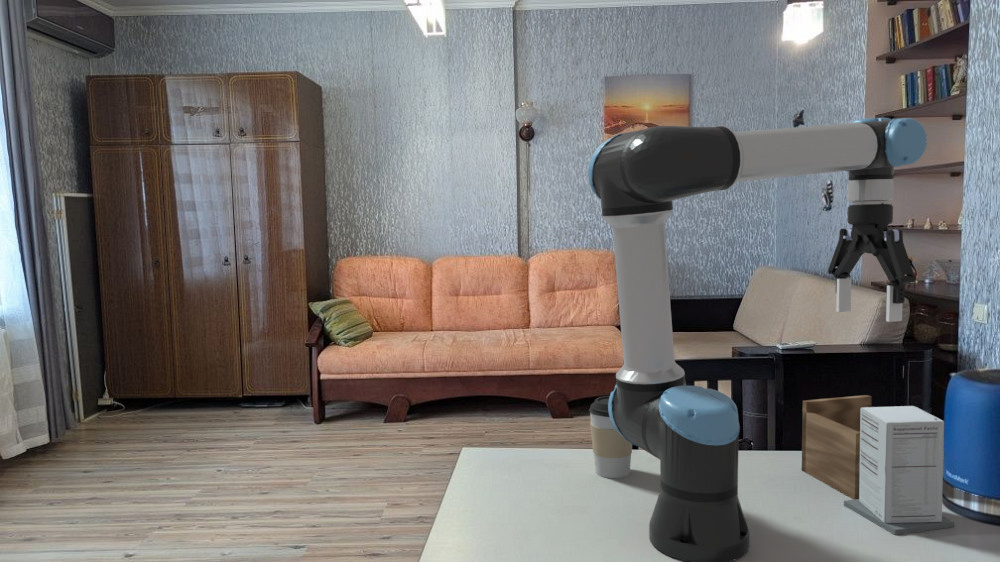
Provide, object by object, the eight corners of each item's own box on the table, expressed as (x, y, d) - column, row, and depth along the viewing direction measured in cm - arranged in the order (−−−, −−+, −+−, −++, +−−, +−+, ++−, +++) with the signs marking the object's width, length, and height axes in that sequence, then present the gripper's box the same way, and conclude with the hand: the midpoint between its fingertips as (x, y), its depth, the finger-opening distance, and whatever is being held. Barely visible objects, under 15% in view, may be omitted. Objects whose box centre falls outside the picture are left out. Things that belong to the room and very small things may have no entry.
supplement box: (912, 500, 126) (915, 404, 124) (943, 523, 117) (947, 420, 115) (856, 501, 126) (858, 405, 124) (883, 524, 117) (886, 421, 115)
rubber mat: (894, 534, 115) (895, 530, 115) (843, 505, 126) (843, 500, 126) (954, 526, 117) (954, 522, 117) (898, 498, 129) (898, 494, 129)
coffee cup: (585, 478, 142) (585, 402, 140) (593, 462, 151) (592, 391, 149) (632, 482, 139) (632, 405, 138) (638, 466, 148) (637, 393, 146)
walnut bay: (854, 499, 129) (856, 422, 127) (801, 470, 143) (802, 400, 142) (924, 491, 132) (926, 415, 130) (865, 463, 146) (867, 395, 145)
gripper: (941, 201, 124) (936, 324, 127) (843, 203, 149) (841, 306, 151) (903, 202, 123) (899, 327, 125) (810, 204, 147) (808, 308, 149)
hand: (867, 316), depth 138 cm, fingers open, 13 cm apart
